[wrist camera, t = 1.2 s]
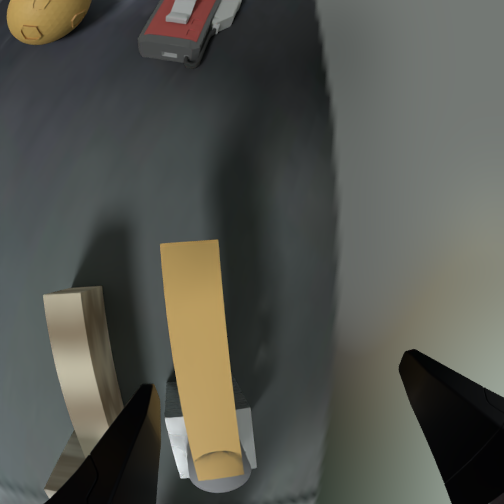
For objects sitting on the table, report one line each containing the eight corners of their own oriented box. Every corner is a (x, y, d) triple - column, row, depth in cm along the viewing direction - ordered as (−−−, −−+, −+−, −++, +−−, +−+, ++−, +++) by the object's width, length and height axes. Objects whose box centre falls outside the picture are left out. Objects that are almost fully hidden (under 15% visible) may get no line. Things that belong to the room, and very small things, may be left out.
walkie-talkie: (213, 80, 26) (250, -20, 28) (220, 54, 22) (259, -42, 23) (131, 66, 24) (188, -31, 26) (127, 40, 20) (192, -54, 21)
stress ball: (21, 45, 21) (-9, 61, 15) (27, -23, 14) (-2, -26, 8) (93, 33, 25) (81, 43, 19) (103, -36, 18) (94, -48, 12)
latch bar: (243, 463, 18) (253, 487, 16) (191, 471, 18) (195, 496, 15) (220, 242, 19) (227, 238, 16) (155, 247, 18) (150, 244, 15)
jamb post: (239, 428, 26) (257, 467, 19) (178, 436, 24) (180, 478, 18) (232, 374, 26) (250, 407, 19) (166, 382, 24) (164, 418, 18)
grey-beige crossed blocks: (140, 460, 23) (133, 529, 13) (86, 459, 22) (64, 521, 12) (102, 285, 23) (58, 300, 13) (42, 289, 22) (-19, 302, 12)
